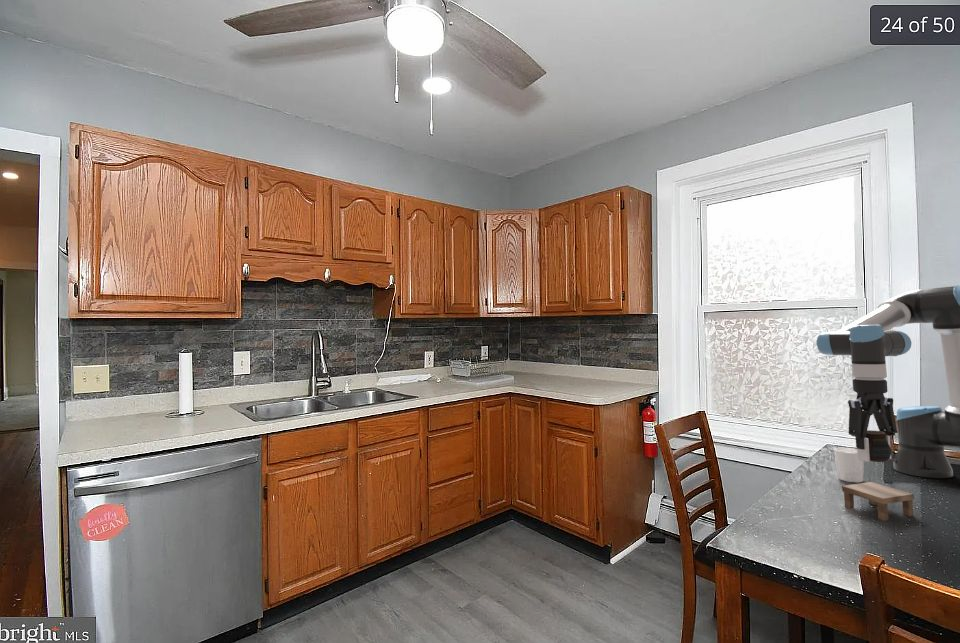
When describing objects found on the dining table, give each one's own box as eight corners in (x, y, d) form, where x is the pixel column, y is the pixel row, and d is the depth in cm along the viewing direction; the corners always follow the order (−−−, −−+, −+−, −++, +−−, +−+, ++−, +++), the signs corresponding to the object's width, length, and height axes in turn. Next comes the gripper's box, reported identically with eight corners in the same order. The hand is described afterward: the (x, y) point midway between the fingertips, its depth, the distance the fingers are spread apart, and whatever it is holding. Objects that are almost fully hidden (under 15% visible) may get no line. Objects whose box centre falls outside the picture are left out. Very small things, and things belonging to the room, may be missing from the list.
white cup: (871, 483, 151) (869, 453, 151) (844, 483, 153) (842, 453, 153) (856, 476, 159) (854, 447, 159) (831, 475, 160) (829, 447, 161)
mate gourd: (888, 465, 124) (884, 428, 124) (853, 460, 130) (850, 425, 131) (896, 460, 128) (892, 424, 128) (862, 455, 134) (859, 421, 135)
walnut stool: (872, 502, 135) (871, 481, 136) (915, 516, 125) (913, 493, 125) (843, 506, 133) (842, 485, 133) (884, 521, 122) (883, 498, 122)
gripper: (881, 375, 136) (887, 452, 135) (828, 379, 131) (833, 459, 131) (910, 377, 129) (916, 459, 128) (855, 381, 124) (860, 466, 123)
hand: (874, 459), depth 129 cm, fingers closed on mate gourd, 7 cm apart
